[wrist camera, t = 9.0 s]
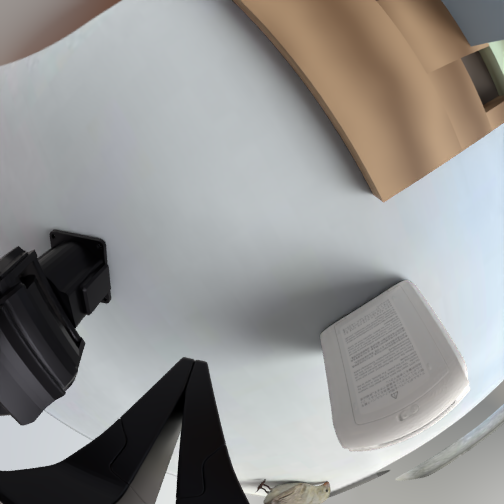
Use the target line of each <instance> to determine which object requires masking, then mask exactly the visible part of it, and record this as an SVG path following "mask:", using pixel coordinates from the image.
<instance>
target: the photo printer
mask: <svg viewBox="0 0 504 504" xmlns="http://www.w3.org/2000/svg"><path fill="white" fill-rule="evenodd" d="M320 340H321V346H322V351H323V357H324V363H325V370H326V376H327V382H328V389H329V396H330V403H331V411H332V418H333V425H334V429H335V432H336V435H337V438H338V440H339V442H340V444H341V445H342V447H343V448H345V449H349V451H369V450H375V449H380V448H384V447H388V446H391V445H394V444H397V443H400V442H402V441H405V440H407V439H409V438H411V437H413V436H415V435H417V434H419V433H421V432H423V431H424V430H426V429H428V428H429V427H431V426H432V425H434V424H435V423H436V422H438V421H439V420H440V419H442V418H443V417H444V416H445V415H447V414H448V413H449V412H450V411H451V410H452V409H453V408H454V407H455V406H456V405H457V404H458V403H459V402H460V401H461V400H462V399H463V398H464V397H465V395H466V394H467V393H468V392H469V390H470V387H469V381H468V378H467V376H468V373H467V366H466V363H465V361H464V359H463V357H462V355H461V353H460V352H459V350H458V348H457V347H456V345H455V343H454V342H453V340H452V338H451V337H450V335H449V333H448V332H447V330H446V329H445V327H444V325H443V324H442V322H441V321H440V319H439V318H438V316H437V315H436V313H435V312H434V310H433V309H432V307H431V306H430V304H429V303H428V301H427V300H426V298H425V297H424V296H423V294H422V293H421V291H420V290H419V288H418V287H417V286H416V285H415V284H414V283H412V282H410V281H408V280H404V281H402V282H400V283H398V284H396V285H394V286H393V287H391V288H389V289H388V290H387V291H385V292H383V293H382V294H380V295H379V296H377V297H376V298H374V299H373V300H371V301H369V302H368V303H366V304H365V305H363V306H362V307H360V308H358V309H357V310H355V311H354V312H352V313H350V314H349V315H347V316H346V317H344V318H342V319H341V320H339V321H337V322H336V323H334V324H333V325H331V326H330V327H328V328H327V329H325V330H324V331H323V332H322V333H321V335H320Z"/></svg>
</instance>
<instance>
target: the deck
mask: <svg viewBox="0 0 504 504" xmlns="http://www.w3.org/2000/svg"><path fill="white" fill-rule="evenodd" d="M232 1H233V2H235V3H236V4H237V5H238V6H239V7H240V8H241V9H242V11H243V12H244V13H245V14H246V15H247V16H248V17H249V18H250V19H251V20H252V21H253V22H254V23H255V24H256V25H257V26H258V27H259V29H260V30H261V31H262V32H263V33H264V34H265V35H266V36H267V38H268V39H269V40H270V41H271V42H272V43H273V45H274V46H275V47H276V48H277V49H278V50H279V52H280V53H281V54H282V55H283V57H284V58H285V59H286V60H287V61H288V63H289V64H290V65H291V67H292V68H293V69H294V70H295V72H296V73H297V74H298V76H299V77H300V78H301V80H302V81H303V82H304V84H305V85H306V86H307V88H308V89H309V90H310V92H311V93H312V95H313V96H314V97H315V99H316V100H317V102H318V103H319V105H320V106H321V107H322V109H323V110H324V112H325V113H326V115H327V116H328V118H329V119H330V121H331V122H332V124H333V126H334V127H335V129H336V130H337V132H338V133H339V135H340V137H341V138H342V140H343V141H344V143H345V145H346V146H347V148H348V150H349V151H350V153H351V155H352V156H353V158H354V160H355V162H356V163H357V165H358V167H359V169H360V171H361V172H362V174H363V176H364V178H365V180H366V181H367V183H368V185H369V187H370V189H371V191H372V193H373V195H374V196H376V197H377V198H378V199H380V200H381V201H382V202H385V201H387V200H388V199H390V198H391V197H393V196H394V195H396V194H398V193H399V192H401V191H402V190H404V189H405V188H407V187H409V186H410V185H412V184H413V183H415V182H416V181H418V180H419V179H421V178H422V177H424V176H426V175H427V174H429V173H430V172H432V171H433V170H435V169H436V168H438V167H439V166H441V165H442V164H444V163H445V162H447V161H448V160H450V159H451V158H453V157H454V156H456V155H457V154H459V153H460V152H462V151H463V150H465V149H466V148H468V147H469V146H471V145H472V144H474V143H475V142H477V141H478V140H480V139H481V138H482V137H484V136H485V135H487V134H488V133H490V132H491V131H493V130H494V129H496V128H497V127H498V126H500V125H501V124H503V123H504V40H500V41H495V42H490V43H485V44H480V45H476V46H470V44H469V42H468V41H467V39H466V37H465V36H464V34H463V32H462V31H461V29H460V27H459V26H458V24H457V23H456V21H455V20H454V18H453V17H452V15H451V14H450V12H449V11H448V9H447V8H446V6H445V5H444V4H443V2H442V1H441V0H232Z"/></svg>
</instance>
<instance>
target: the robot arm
mask: <svg viewBox="0 0 504 504" xmlns="http://www.w3.org/2000/svg"><path fill="white" fill-rule="evenodd" d="M54 235H55V236H54ZM50 241H51V249H49V250H48V251H47V252H45V253H44V254H43V255H42V256H40V257H39V258H38V259H37V254H36V252H35V250H32V251H30V252H26V251H24V250H23V249H21V248H20V247H19V246H18V247H16V248H14V249H13V250H11V251H10V252H9V253H7V254H6V255H4V256H3V257H2V258H1V259H0V416H4V415H11V416H12V417H13V418H14V419H15V420H16V421H17V422H18V423H19V424H20V425H26V424H29V423H32V422H34V421H35V420H36V418H37V417H38V416H39V415H40V414H41V413H42V412H43V410H44V409H45V408H46V407H47V406H48V405H50V404H51V403H52V402H54V401H55V400H57V399H58V398H60V397H62V396H64V395H65V393H66V392H65V391H66V390H67V389H68V388H69V387H70V386H71V385H72V383H73V382H74V380H75V377H76V375H77V372H78V367H79V363H80V360H81V356H82V353H83V349H84V346H85V342H84V340H83V339H82V337H80V336H79V334H78V333H77V331H76V329H75V328H76V327H77V326H78V324H79V323H80V322H81V320H82V319H83V318H84V317H85V315H90V314H91V313H92V312H93V311H94V309H95V308H96V307H97V306H98V304H99V303H100V302H102V303H109V302H110V300H111V293H110V289H111V286H110V277H109V267H108V264H107V254H106V244H105V242H104V241H103V240H102V239H98V238H93V237H88V236H83V235H78V234H73V233H68V232H63V231H58V230H53V231H51V232H50ZM99 244H100V245H101V247H100V246H99ZM105 297H106V298H107V299H106V298H105ZM180 431H181V438H180V449H179V461H178V475H177V491H176V492H177V493H176V504H249V502H248V500H247V498H246V496H245V494H244V492H243V490H242V487H241V485H240V483H239V481H238V479H237V476H236V474H235V472H234V469H233V466H232V463H231V460H230V457H229V454H228V450H227V446H226V443H225V439H224V435H223V431H222V427H221V422H220V418H219V414H218V410H217V406H216V401H215V397H214V392H213V388H212V383H211V378H210V373H209V369H208V364H207V362H205V361H200V360H194V359H191V358H186V357H183V358H182V359H180V360H179V361H178V362H177V363H176V364H175V365H174V366H173V367H172V368H171V369H170V370H169V371H168V372H167V373H166V374H165V375H164V376H163V377H162V378H161V379H160V380H159V381H158V382H157V383H156V384H155V385H154V386H153V387H152V388H151V389H150V390H149V391H148V392H147V393H146V394H145V395H143V396H142V397H141V398H140V399H139V400H138V401H137V402H136V403H135V404H134V405H133V406H132V407H131V408H130V409H129V410H128V411H127V412H126V413H125V414H124V415H122V416H121V417H120V419H118V420H117V421H116V422H115V423H114V424H113V425H112V426H111V427H109V428H108V429H107V430H106V431H105V432H104V433H102V434H101V435H100V436H98V437H97V438H96V439H94V440H93V441H92V442H90V443H89V444H87V445H86V446H84V447H83V448H81V449H80V450H78V451H77V452H75V453H74V454H72V455H71V456H69V457H68V458H66V459H65V460H63V461H61V462H59V463H56V464H54V465H50V466H45V467H38V468H32V469H24V470H15V471H0V504H155V502H156V498H157V496H158V493H159V490H160V487H161V484H162V482H163V479H164V476H165V473H166V470H167V468H168V465H169V462H170V459H171V456H172V454H173V451H174V448H175V445H176V442H177V440H178V437H179V434H180Z"/></svg>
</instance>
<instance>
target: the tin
mask: <svg viewBox="0 0 504 504" xmlns="http://www.w3.org/2000/svg"><path fill="white" fill-rule="evenodd" d="M441 1H442V2H443V4H444V5H445V6H446V8H447V9H448V11H449V12H450V14H451V15H452V17H453V18H454V20H455V21H456V23H457V24H458V26H459V27H460V29H461V31H462V32H463V34H464V36H465V37H466V39H467V41H468V42H469V44H470V46H476V45H480V44H485V43H490V42H495V41H500V40H504V0H441Z"/></svg>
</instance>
